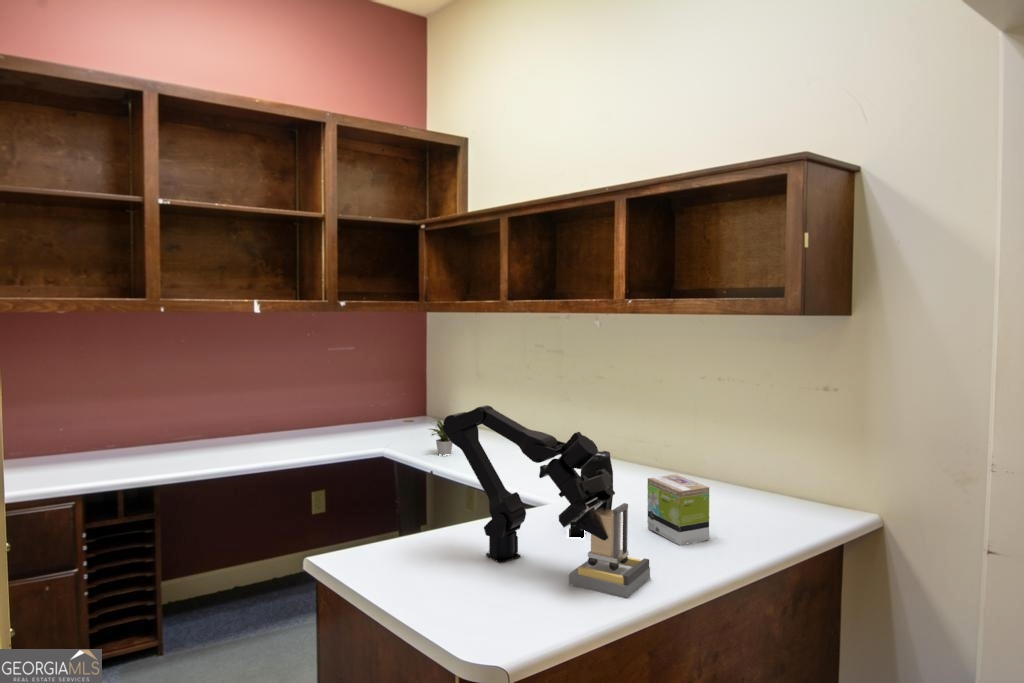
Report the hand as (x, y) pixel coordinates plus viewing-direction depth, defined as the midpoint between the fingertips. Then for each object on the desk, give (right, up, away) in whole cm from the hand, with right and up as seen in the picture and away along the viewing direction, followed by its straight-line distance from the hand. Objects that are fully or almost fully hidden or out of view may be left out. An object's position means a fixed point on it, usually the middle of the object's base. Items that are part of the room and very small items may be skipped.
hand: (611, 536), depth 158 cm
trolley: (-1, -7, +1) cm, 7 cm away
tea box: (+23, -9, +32) cm, 40 cm away
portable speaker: (+2, -8, +47) cm, 48 cm away
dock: (0, -10, +1) cm, 10 cm away
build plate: (-5, -9, +33) cm, 35 cm away
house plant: (-51, -4, +137) cm, 146 cm away
